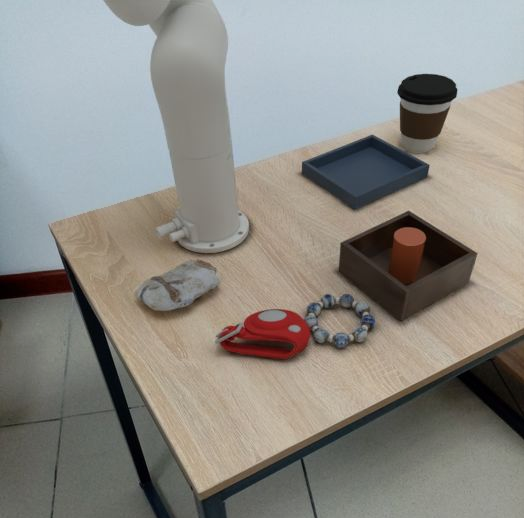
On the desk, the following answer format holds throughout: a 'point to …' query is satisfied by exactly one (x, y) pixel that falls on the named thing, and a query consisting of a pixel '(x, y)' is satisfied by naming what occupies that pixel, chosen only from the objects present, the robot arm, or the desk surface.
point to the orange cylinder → (406, 254)
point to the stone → (178, 286)
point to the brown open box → (430, 272)
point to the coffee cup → (424, 109)
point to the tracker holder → (267, 333)
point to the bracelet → (340, 338)
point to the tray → (364, 171)
